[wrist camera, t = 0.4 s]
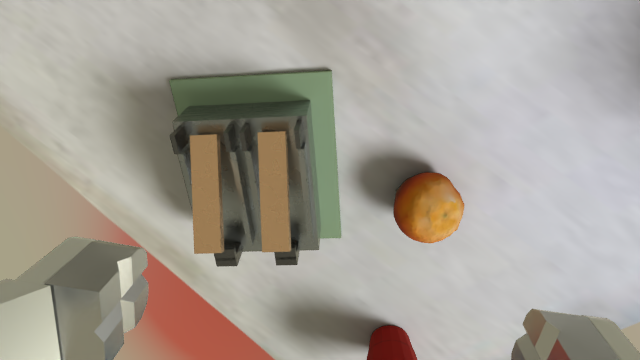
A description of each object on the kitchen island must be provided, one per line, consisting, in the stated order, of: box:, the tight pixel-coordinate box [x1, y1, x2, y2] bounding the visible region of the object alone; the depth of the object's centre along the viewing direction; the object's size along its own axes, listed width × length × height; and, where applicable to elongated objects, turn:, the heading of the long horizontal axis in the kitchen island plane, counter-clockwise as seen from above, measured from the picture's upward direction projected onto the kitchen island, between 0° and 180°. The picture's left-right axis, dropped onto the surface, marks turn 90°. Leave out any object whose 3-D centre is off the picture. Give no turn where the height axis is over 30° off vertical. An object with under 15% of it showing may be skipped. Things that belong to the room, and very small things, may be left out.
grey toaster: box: [170, 100, 321, 266], centre depth 48 cm, size 17×14×8 cm
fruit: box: [394, 172, 464, 243], centre depth 50 cm, size 8×8×8 cm
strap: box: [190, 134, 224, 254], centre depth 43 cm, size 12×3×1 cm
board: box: [169, 70, 341, 238], centre depth 51 cm, size 22×18×1 cm
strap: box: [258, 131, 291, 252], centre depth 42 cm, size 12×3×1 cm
